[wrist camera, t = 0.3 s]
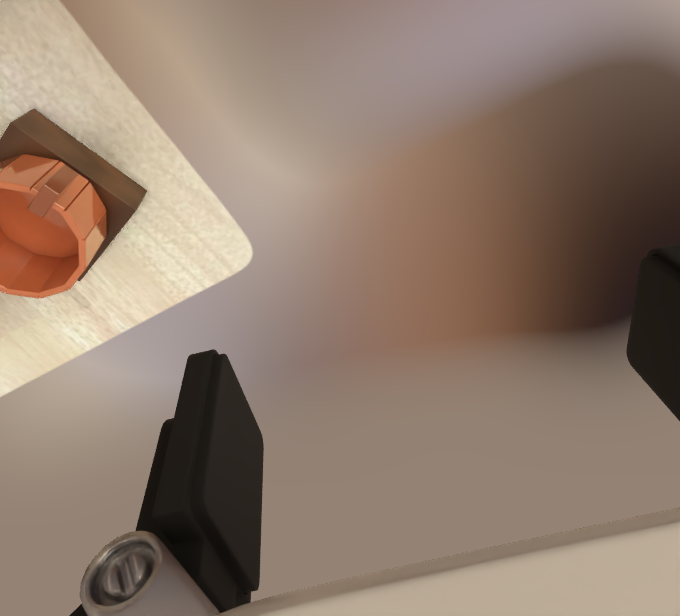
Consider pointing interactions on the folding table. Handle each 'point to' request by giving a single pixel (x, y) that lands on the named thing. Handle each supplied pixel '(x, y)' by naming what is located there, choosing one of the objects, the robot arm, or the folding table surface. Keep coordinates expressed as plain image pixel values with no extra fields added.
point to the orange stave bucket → (46, 226)
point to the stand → (75, 168)
